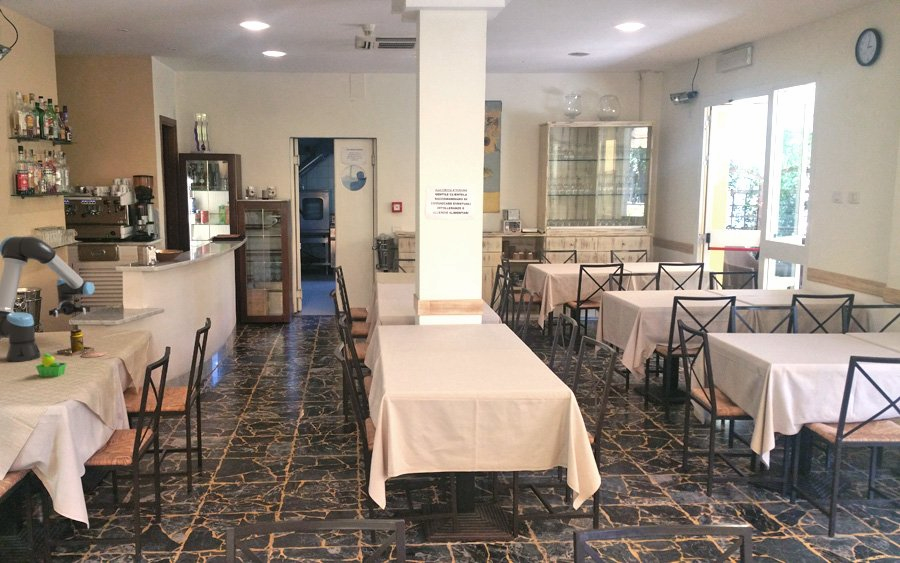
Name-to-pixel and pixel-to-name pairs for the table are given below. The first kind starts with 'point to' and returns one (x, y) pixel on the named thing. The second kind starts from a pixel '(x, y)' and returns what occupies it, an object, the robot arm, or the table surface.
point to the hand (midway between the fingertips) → (71, 313)
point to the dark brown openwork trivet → (75, 352)
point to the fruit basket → (50, 367)
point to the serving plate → (94, 354)
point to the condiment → (76, 340)
